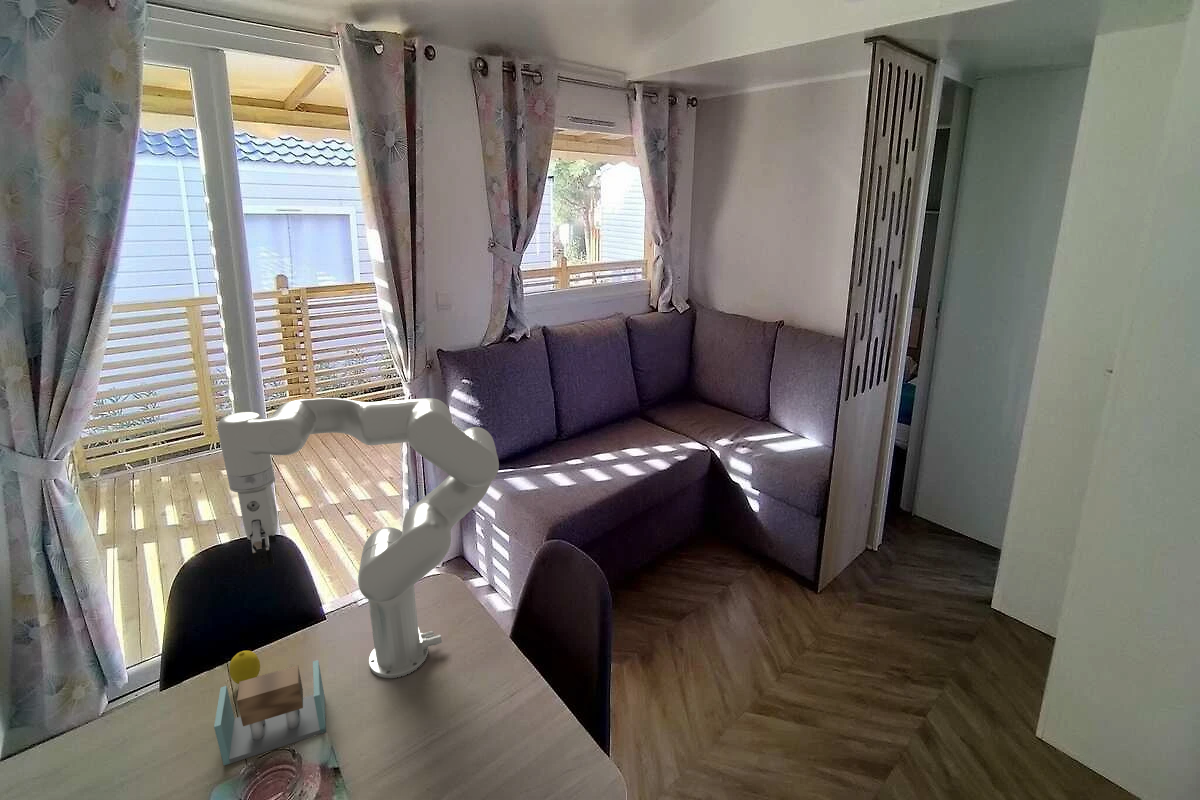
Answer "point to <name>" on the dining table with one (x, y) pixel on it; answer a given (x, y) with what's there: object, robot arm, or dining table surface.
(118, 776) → the dining table surface
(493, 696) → the dining table surface
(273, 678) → the brown wooden block
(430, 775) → the dining table surface
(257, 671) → the lemon
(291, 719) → the peg frame
